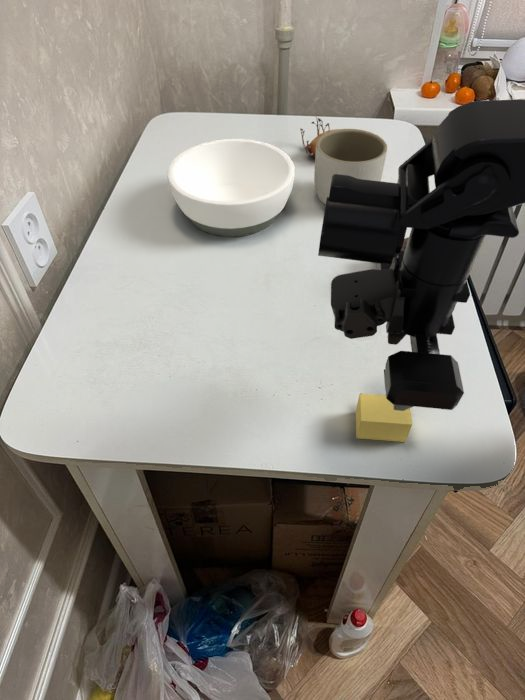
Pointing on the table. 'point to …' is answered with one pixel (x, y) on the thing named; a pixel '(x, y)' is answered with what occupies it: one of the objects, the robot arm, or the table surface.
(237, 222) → the bowl
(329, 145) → the planter
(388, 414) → the yellow block
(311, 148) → the vegetable
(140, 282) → the table surface
